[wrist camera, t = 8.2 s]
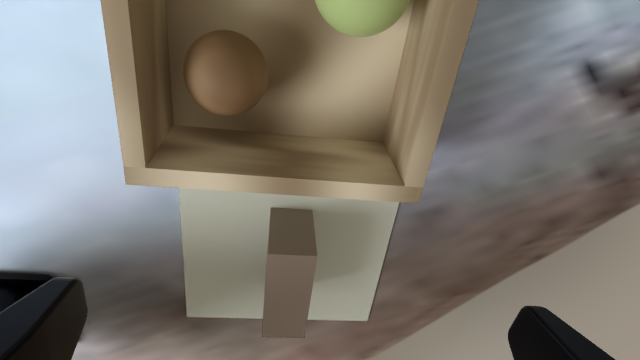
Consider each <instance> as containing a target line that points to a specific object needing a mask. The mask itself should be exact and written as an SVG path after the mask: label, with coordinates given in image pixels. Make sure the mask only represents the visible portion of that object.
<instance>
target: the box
mask: <svg viewBox="0 0 640 360" xmlns="http://www.w3.org/2000/svg"><path fill="white" fill-rule="evenodd" d="M478 3H479V0H410V2H409V5H408V7H407V8H406V10H405V12H404V13H403V15H402V16H401V17H400V18H399V20H398V21H397V22H396V23H395V24H394V25H392V26H391V27H390V28H388V29H387V30H385V31H383V32H381V33H379V34H376V35H373V36H368V37H354V36H349V35H346V34H343V33H341V32H339V31H337V30H336V29H335V28H333V27H332V26H331V25H330V24H328V23H327V22H326V20H325V19H324V18H323V17H322V15H321V13H320V12H319V10H318V8H317V5H316V3H315V0H101V7H102V14H103V21H104V28H105V36H106V43H107V50H108V57H109V65H110V72H111V79H112V86H113V94H114V101H115V108H116V116H117V123H118V130H119V137H120V145H121V152H122V159H123V166H124V174H125V181H126V184H127V185H143V186H158V187H173V188H189V189H204V190H219V191H235V192H250V193H265V194H281V195H296V196H312V197H327V198H342V199H358V200H373V201H388V202H404V203H419V200H420V197H421V193H422V190H423V187H424V183H425V180H426V177H427V173H428V170H429V167H430V163H431V160H432V157H433V153H434V150H435V147H436V143H437V140H438V137H439V133H440V130H441V127H442V123H443V120H444V116H445V113H446V110H447V106H448V103H449V100H450V96H451V93H452V90H453V86H454V83H455V80H456V76H457V73H458V70H459V66H460V63H461V60H462V56H463V53H464V50H465V46H466V43H467V39H468V36H469V33H470V29H471V26H472V23H473V19H474V16H475V13H476V9H477V6H478ZM216 30H229V31H234V32H237V33H240V34H242V35H244V36H246V37H247V38H249V39H250V40H251V41H253V42H254V43H255V44H256V45H257V46H258V48H259V49H260V51H261V52H262V54H263V56H264V58H265V60H266V64H267V68H268V83H267V87H266V90H265V92H264V95H263V96H262V98H261V99H260V101H259V102H258V103H257V104H256V105H255V106H254V107H253V108H251V109H250V110H248V111H246V112H244V113H241V114H237V115H231V116H226V115H219V114H215V113H212V112H210V111H208V110H206V109H204V108H203V107H202V106H200V105H199V104H198V103H197V102H196V101H195V100H194V99H193V97H192V96H191V94H190V93H189V91H188V89H187V87H186V84H185V80H184V75H183V65H184V60H185V57H186V54H187V52H188V50H189V48H190V47H191V45H192V44H193V43H194V42H195V41H196V40H197V39H198V38H200V37H201V36H203V35H205V34H207V33H209V32H212V31H216Z"/></svg>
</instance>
